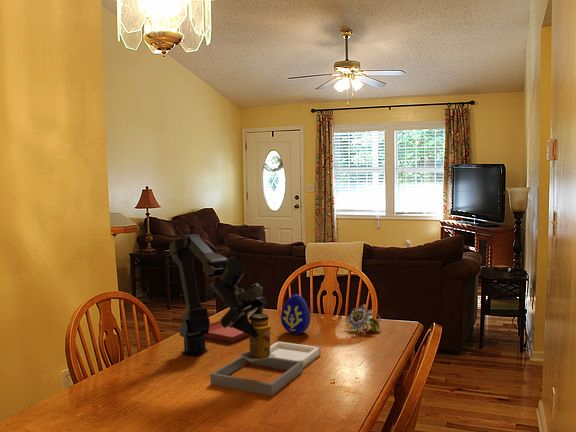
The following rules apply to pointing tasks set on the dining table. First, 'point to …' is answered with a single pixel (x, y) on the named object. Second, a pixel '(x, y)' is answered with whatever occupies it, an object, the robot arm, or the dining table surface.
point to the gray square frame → (270, 389)
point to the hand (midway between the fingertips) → (262, 333)
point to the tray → (295, 352)
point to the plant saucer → (224, 332)
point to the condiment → (259, 339)
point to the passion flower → (362, 319)
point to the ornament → (295, 315)
